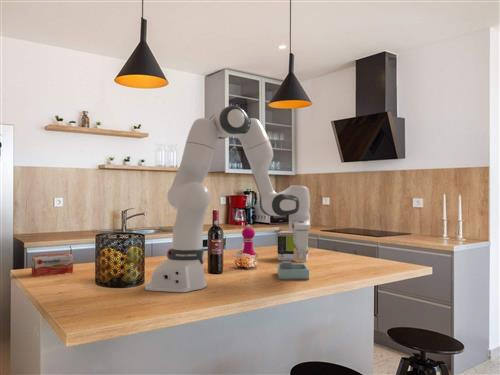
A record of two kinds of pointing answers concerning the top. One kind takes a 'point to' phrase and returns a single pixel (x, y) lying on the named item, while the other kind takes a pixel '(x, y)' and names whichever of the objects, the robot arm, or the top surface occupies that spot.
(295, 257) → the stone sandstone
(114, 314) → the top surface
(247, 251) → the pepper mill
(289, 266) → the grey block
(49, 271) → the medicine box
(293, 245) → the tea box
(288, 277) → the tub
